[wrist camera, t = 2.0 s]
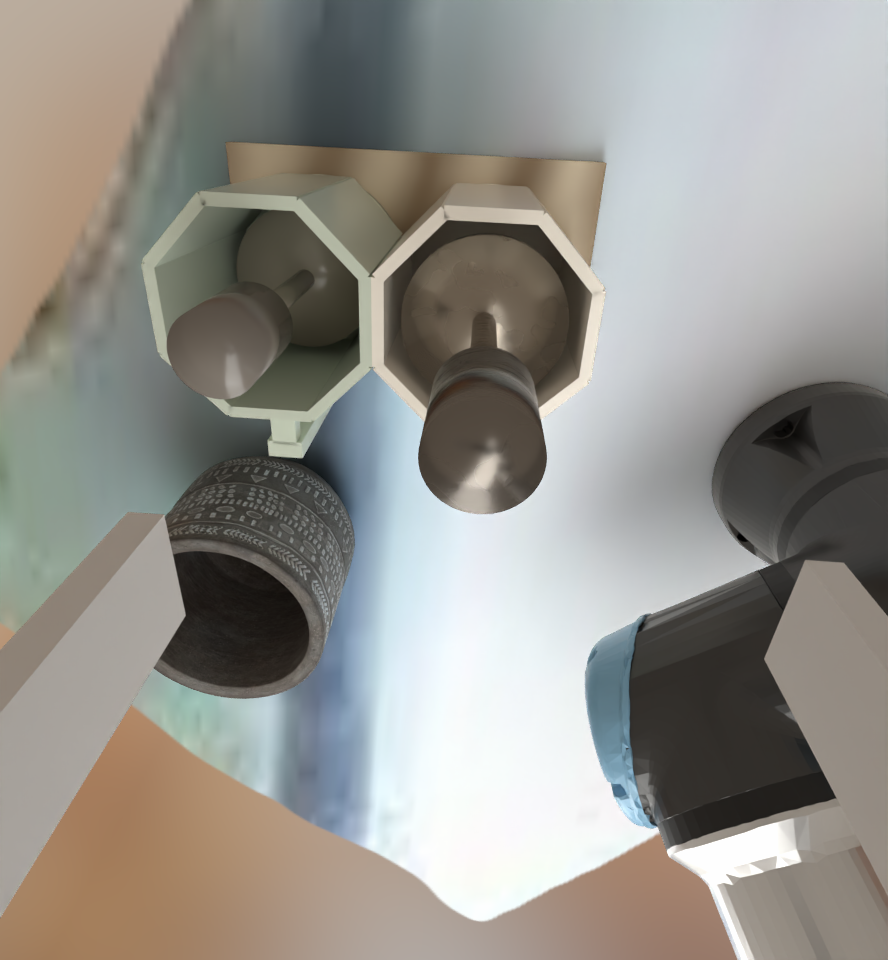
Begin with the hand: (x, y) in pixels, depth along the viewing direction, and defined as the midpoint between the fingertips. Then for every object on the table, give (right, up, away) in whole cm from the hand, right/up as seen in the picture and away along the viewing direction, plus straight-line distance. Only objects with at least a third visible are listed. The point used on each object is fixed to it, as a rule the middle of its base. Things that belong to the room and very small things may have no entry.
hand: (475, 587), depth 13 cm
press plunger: (+1, +10, +19) cm, 21 cm away
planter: (-15, 0, +41) cm, 44 cm away
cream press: (+2, +15, +30) cm, 34 cm away
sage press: (-9, +16, +30) cm, 35 cm away
